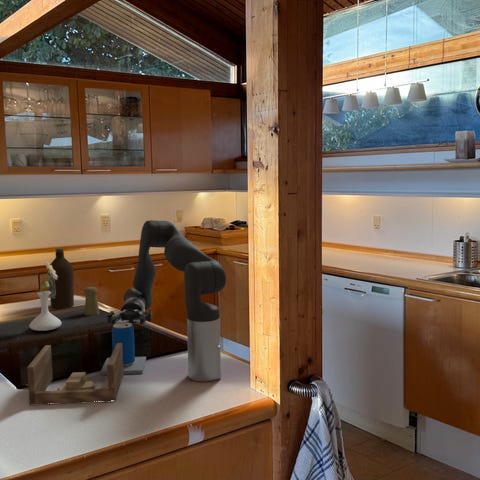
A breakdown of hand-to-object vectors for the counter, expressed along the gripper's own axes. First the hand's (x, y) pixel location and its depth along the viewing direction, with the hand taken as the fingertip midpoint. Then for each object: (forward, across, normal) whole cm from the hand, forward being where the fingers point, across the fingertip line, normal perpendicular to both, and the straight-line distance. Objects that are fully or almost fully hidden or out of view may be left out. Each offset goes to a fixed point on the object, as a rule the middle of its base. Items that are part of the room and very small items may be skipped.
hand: (127, 322), depth 188 cm
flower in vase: (-34, -34, +11) cm, 49 cm away
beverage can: (+11, 0, +10) cm, 15 cm away
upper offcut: (+30, -10, +9) cm, 33 cm away
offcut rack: (+28, -10, +11) cm, 32 cm away
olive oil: (-68, -36, +10) cm, 78 cm away
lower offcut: (+30, -10, +12) cm, 34 cm away
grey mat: (+11, 0, +11) cm, 15 cm away
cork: (-54, -21, +10) cm, 59 cm away
